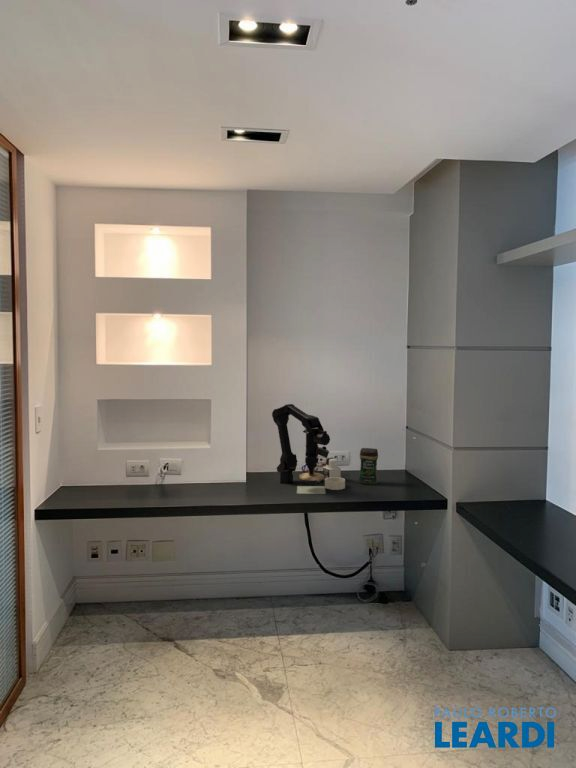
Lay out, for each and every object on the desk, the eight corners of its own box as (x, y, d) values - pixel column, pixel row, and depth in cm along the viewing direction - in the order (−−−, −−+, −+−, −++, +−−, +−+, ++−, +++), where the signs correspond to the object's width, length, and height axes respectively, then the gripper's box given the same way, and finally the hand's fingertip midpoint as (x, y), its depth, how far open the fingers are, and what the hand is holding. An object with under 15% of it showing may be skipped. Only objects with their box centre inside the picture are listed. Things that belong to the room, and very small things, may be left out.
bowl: (325, 490, 288) (325, 481, 287) (324, 485, 298) (324, 477, 297) (345, 490, 287) (345, 482, 287) (344, 485, 297) (344, 477, 297)
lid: (299, 480, 281) (299, 470, 280) (299, 474, 293) (299, 464, 292) (324, 480, 280) (324, 470, 280) (323, 475, 292) (323, 464, 292)
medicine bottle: (322, 479, 310) (322, 457, 309) (334, 478, 313) (334, 456, 312) (329, 482, 304) (329, 460, 303) (340, 481, 307) (341, 459, 306)
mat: (296, 494, 280) (296, 493, 280) (297, 487, 294) (297, 486, 294) (325, 494, 280) (325, 493, 280) (324, 487, 294) (324, 486, 294)
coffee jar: (358, 484, 300) (358, 449, 299) (360, 480, 308) (360, 446, 307) (376, 485, 298) (377, 450, 296) (378, 482, 305) (379, 447, 304)
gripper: (328, 446, 275) (328, 478, 277) (327, 439, 294) (327, 469, 295) (305, 445, 276) (305, 478, 277) (305, 439, 294) (305, 469, 296)
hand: (311, 473), depth 286 cm, fingers closed on lid, 3 cm apart
